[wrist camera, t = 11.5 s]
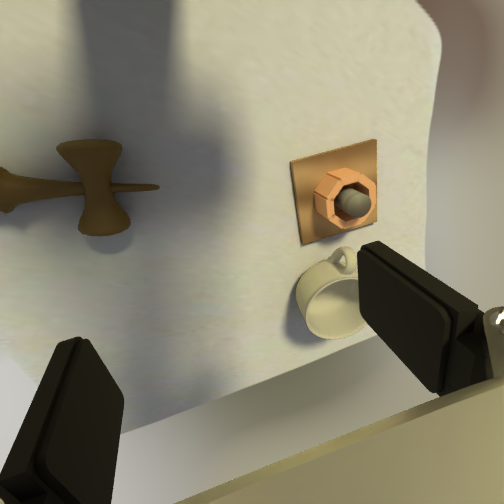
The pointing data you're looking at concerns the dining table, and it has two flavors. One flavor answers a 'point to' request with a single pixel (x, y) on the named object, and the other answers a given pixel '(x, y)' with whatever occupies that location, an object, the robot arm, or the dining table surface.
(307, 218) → the post plate
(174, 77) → the dining table surface
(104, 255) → the dining table surface
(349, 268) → the teacup
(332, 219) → the ring
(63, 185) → the kendama
